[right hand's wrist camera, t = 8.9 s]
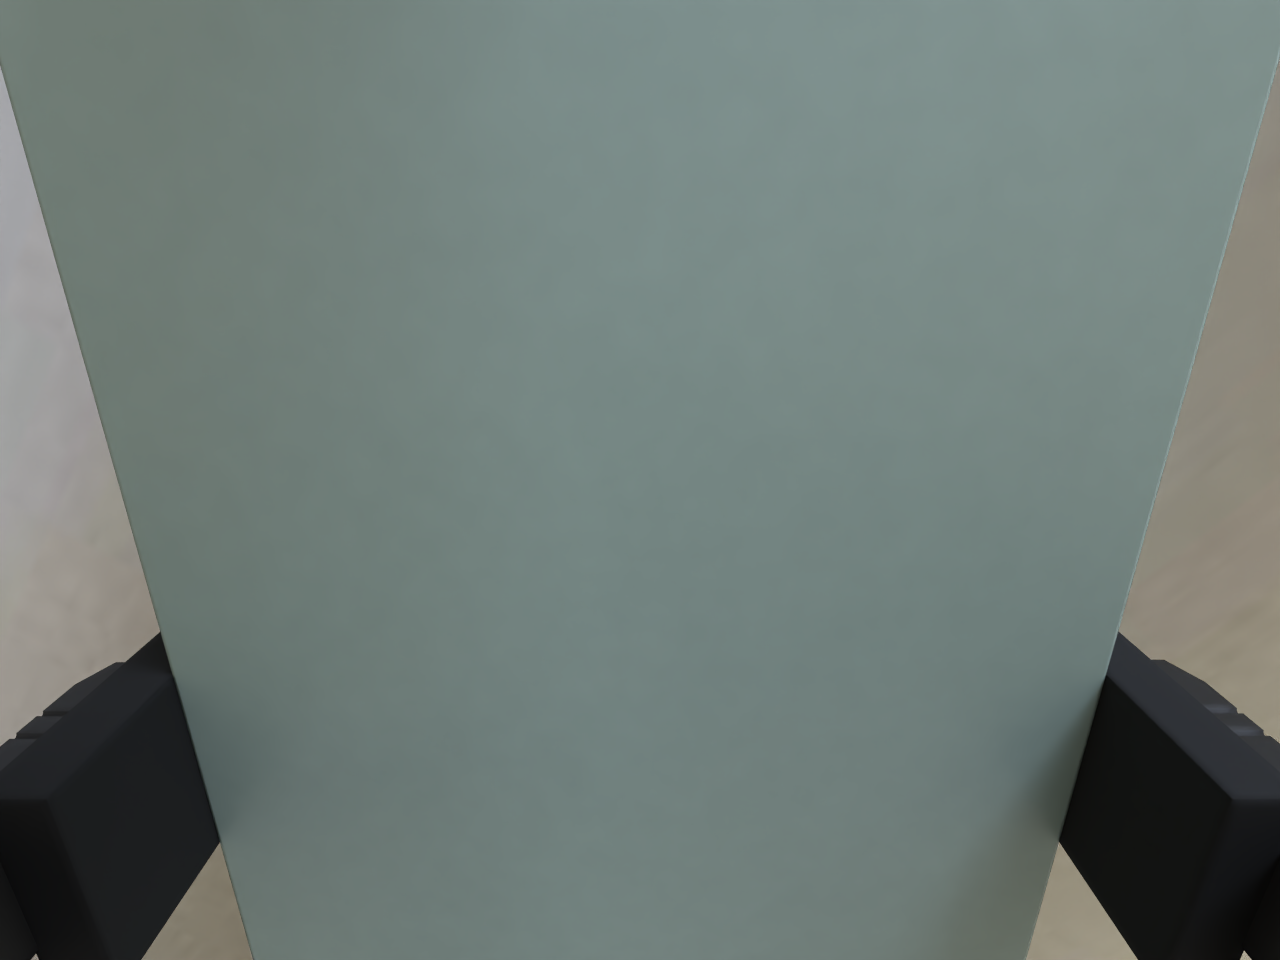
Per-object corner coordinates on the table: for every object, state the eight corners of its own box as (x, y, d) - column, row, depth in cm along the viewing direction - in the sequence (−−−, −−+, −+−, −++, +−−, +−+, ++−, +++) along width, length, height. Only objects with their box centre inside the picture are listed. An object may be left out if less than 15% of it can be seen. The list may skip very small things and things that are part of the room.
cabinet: (374, -39, 15) (-187, -580, 5) (904, -38, 15) (1464, -577, 5) (448, 621, 21) (264, 1010, 11) (830, 621, 21) (1014, 1008, 11)
